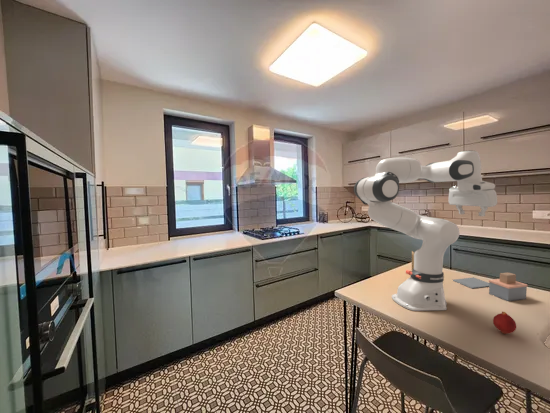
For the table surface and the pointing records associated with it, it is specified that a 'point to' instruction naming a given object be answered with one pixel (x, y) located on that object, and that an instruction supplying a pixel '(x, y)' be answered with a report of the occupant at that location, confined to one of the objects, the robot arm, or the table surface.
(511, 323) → the onion
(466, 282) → the mat
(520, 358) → the table surface
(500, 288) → the storage box
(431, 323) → the table surface
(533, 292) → the table surface
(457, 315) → the table surface
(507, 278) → the lid
